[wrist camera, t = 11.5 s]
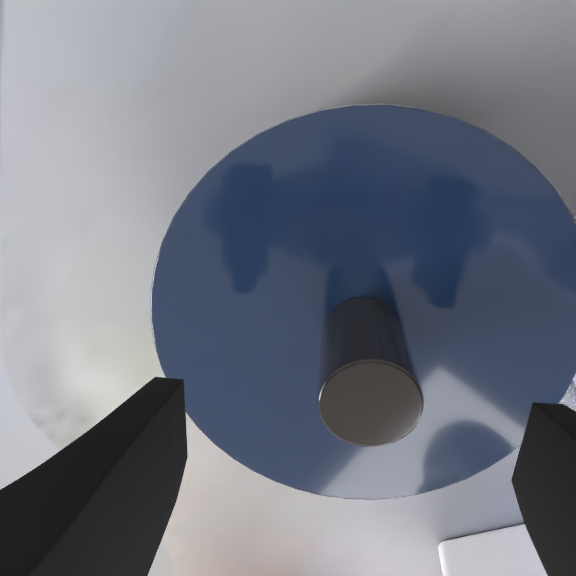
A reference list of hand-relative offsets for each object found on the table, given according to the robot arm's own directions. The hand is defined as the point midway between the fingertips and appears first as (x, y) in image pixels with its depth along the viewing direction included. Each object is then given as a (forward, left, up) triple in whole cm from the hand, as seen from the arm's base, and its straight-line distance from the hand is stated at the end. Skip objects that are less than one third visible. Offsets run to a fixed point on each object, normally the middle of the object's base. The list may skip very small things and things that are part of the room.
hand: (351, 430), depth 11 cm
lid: (0, 0, -5) cm, 5 cm away
